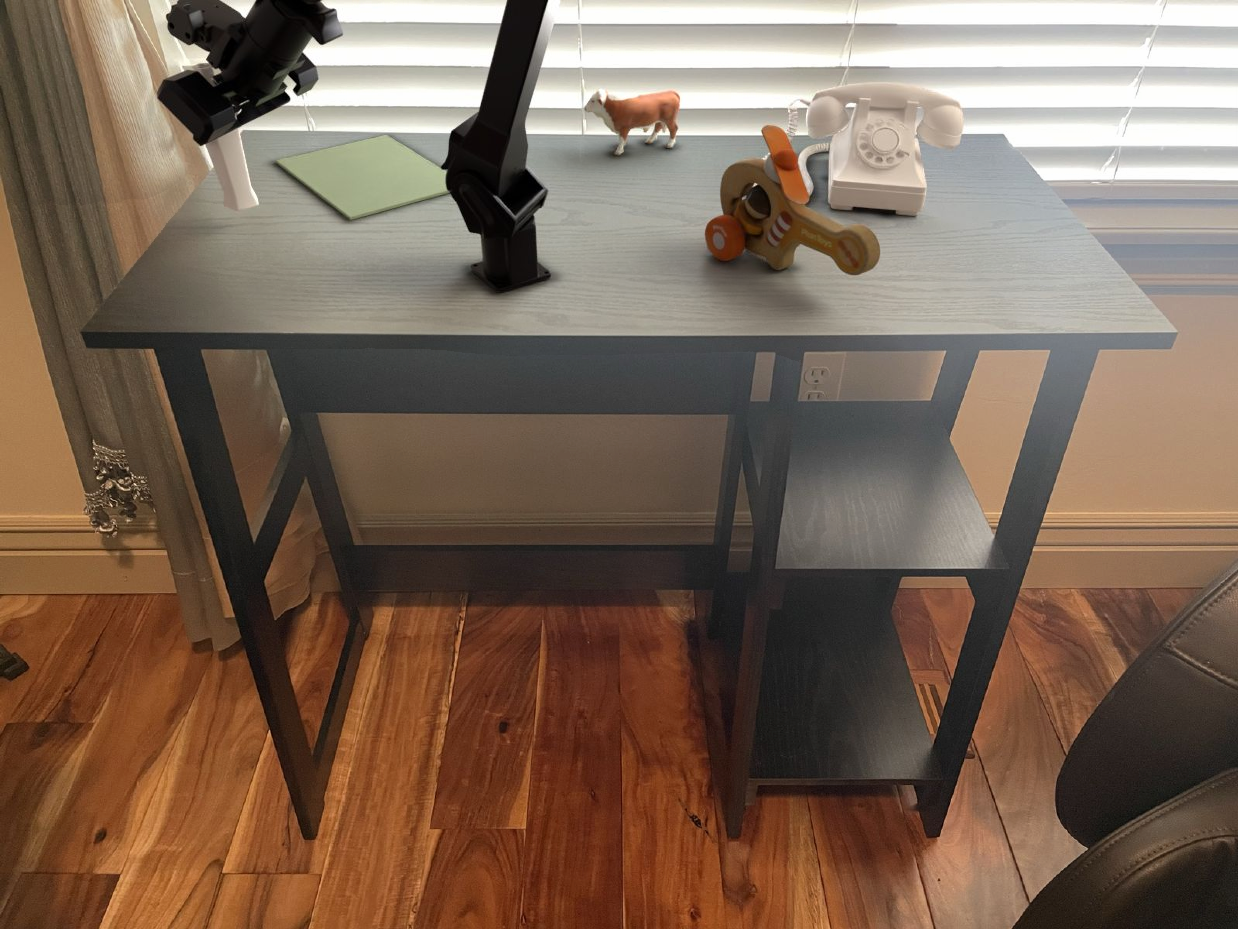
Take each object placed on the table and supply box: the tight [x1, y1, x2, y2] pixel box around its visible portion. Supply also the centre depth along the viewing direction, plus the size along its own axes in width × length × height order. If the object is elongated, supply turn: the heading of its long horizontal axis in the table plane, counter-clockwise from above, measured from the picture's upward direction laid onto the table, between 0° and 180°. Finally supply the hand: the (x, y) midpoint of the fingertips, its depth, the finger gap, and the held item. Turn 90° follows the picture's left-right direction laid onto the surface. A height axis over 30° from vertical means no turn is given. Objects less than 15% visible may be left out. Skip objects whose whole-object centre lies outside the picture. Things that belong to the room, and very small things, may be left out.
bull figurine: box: [583, 88, 681, 156], centre depth 125 cm, size 4×13×8 cm, turn 107°
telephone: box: [753, 81, 965, 217], centre depth 116 cm, size 25×21×12 cm
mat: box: [275, 134, 450, 221], centre depth 119 cm, size 22×16×1 cm
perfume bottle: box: [191, 62, 260, 212], centre depth 101 cm, size 5×4×15 cm
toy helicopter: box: [704, 124, 881, 276], centre depth 96 cm, size 8×21×14 cm, turn 39°
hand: (212, 134), depth 101 cm, fingers closed on perfume bottle, 4 cm apart
